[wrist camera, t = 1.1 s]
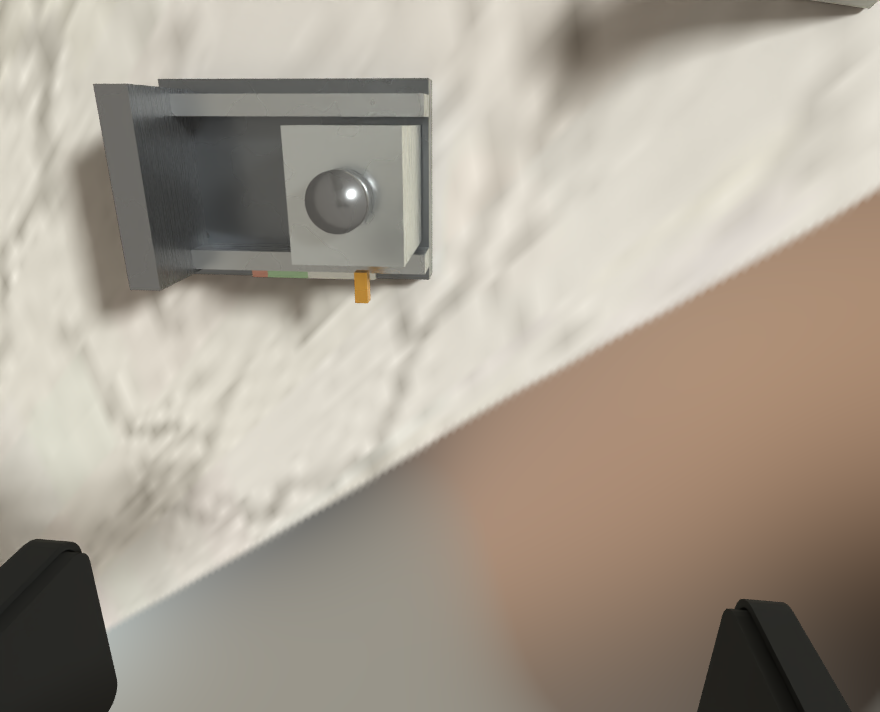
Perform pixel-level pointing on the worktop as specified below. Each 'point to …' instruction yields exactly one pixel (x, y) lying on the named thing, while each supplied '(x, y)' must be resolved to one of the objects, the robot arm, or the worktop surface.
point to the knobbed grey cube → (353, 196)
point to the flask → (852, 2)
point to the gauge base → (236, 170)
